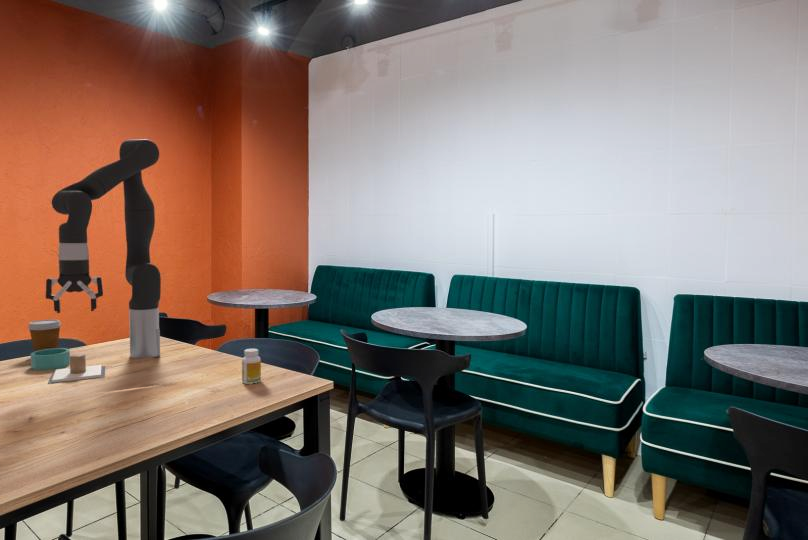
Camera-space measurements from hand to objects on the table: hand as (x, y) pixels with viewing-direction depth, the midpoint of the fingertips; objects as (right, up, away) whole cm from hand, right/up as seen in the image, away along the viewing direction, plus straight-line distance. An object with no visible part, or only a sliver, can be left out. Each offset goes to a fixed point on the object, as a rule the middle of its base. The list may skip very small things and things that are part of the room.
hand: (75, 311), depth 149 cm
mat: (0, -20, +2) cm, 20 cm away
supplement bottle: (+53, -21, 0) cm, 57 cm away
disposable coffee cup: (-27, -18, +24) cm, 40 cm away
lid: (0, -19, +2) cm, 19 cm away
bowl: (-15, -19, +10) cm, 26 cm away
